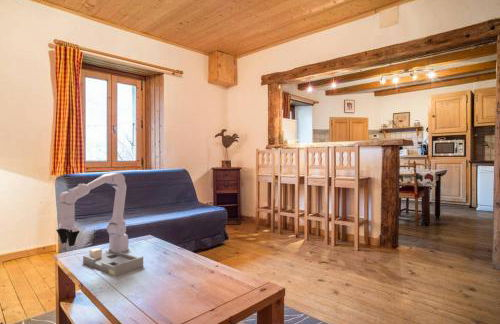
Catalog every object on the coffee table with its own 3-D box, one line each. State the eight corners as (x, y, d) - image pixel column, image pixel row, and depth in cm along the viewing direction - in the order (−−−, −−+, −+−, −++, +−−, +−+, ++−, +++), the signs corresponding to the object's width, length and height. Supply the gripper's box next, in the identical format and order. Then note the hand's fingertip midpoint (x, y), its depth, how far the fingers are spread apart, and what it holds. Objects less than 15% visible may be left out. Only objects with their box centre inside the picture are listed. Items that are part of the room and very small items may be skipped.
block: (97, 255, 147) (97, 247, 147) (101, 257, 145) (101, 249, 145) (89, 257, 144) (89, 249, 144) (93, 259, 141) (93, 251, 141)
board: (110, 255, 154) (110, 246, 154) (143, 266, 138) (143, 256, 138) (83, 263, 142) (83, 253, 142) (115, 276, 127) (115, 265, 127)
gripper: (51, 216, 140) (51, 243, 141) (65, 219, 132) (66, 249, 133) (67, 213, 146) (67, 240, 146) (81, 217, 138) (82, 245, 138)
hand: (67, 244), depth 140 cm, fingers open, 7 cm apart
